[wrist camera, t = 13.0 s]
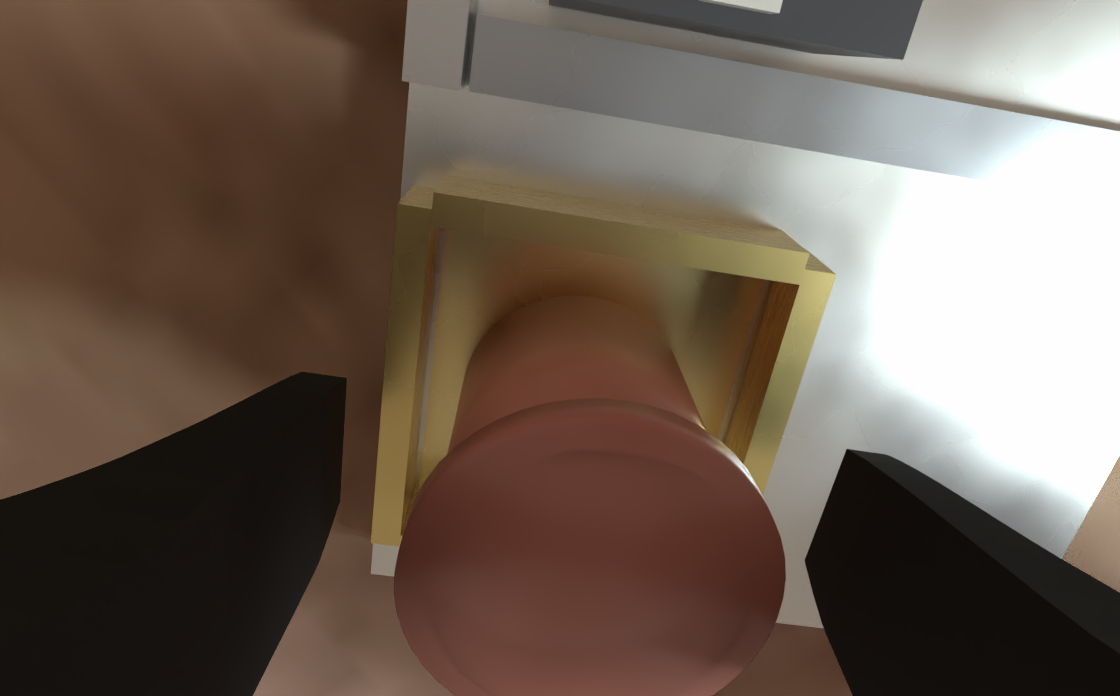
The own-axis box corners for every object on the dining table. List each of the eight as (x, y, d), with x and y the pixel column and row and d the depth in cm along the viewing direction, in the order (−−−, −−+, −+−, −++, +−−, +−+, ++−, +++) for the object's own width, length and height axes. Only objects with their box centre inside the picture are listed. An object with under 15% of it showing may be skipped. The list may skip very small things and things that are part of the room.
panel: (1513, -395, 10) (1796, -521, 8) (985, 617, 17) (1051, 705, 15) (483, -659, 9) (459, -896, 6) (380, 542, 16) (353, 625, 13)
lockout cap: (727, 301, 12) (838, 455, 8) (666, 519, 14) (726, 749, 10) (462, 258, 12) (413, 395, 7) (432, 488, 14) (379, 713, 9)
